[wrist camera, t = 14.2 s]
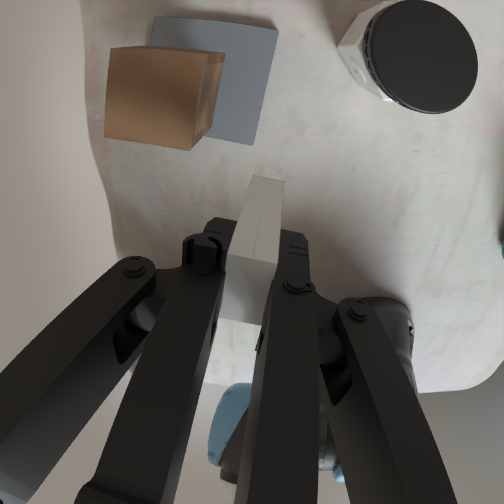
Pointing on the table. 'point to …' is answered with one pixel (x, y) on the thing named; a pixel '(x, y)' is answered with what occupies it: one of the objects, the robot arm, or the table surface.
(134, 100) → the brown wooden cube
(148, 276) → the robot arm
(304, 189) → the table surface
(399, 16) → the jar
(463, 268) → the table surface
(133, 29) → the table surface
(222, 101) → the base plate
